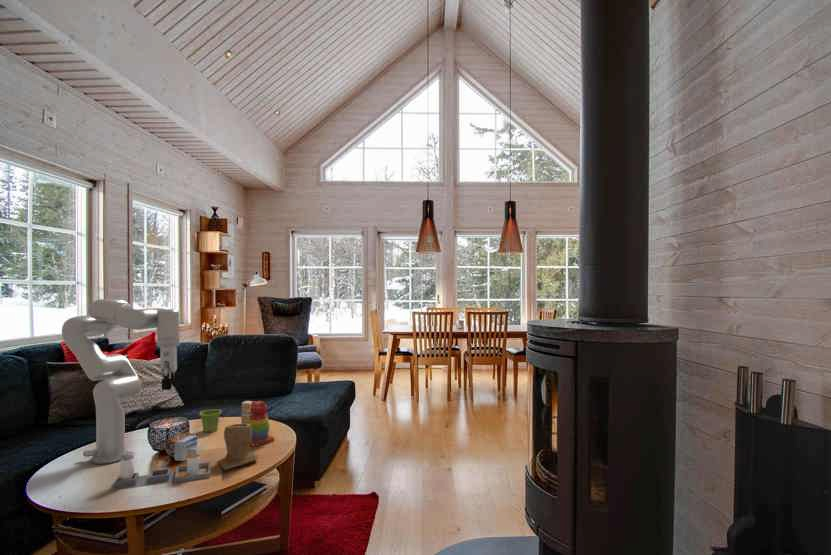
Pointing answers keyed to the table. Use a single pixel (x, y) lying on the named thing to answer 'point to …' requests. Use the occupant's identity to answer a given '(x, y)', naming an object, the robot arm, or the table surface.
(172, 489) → the table surface
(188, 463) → the marked fuse
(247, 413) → the supplement box
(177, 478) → the tray
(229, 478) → the table surface
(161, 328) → the robot arm
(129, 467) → the plain fuse
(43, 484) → the table surface
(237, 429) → the brown piece
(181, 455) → the medicine box
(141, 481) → the fuse block
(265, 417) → the stacking bear
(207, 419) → the plant pot
